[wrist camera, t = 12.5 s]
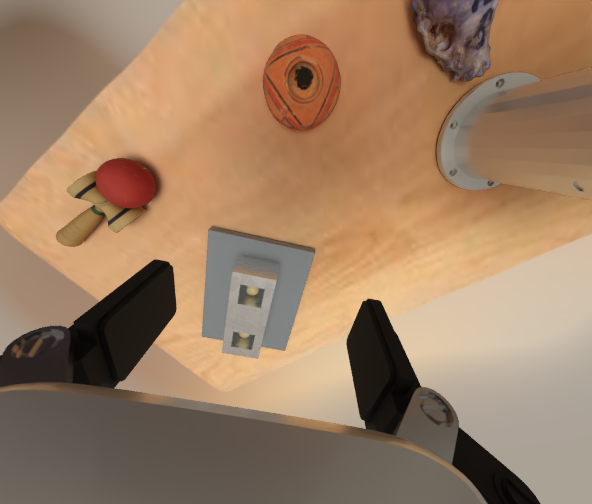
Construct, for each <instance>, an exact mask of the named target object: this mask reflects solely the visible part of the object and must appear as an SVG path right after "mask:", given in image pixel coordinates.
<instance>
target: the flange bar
mask: <svg viewBox="0 0 592 504" xmlns="http://www.w3.org/2000/svg"><path fill="white" fill-rule="evenodd" d="M278 269H279V262H275V261H270V260H265V259H261V258H256V257H251V256H246V255H242V254H241V255H240V257H239V259H238V261H237V263H236V265H235V267H234V269H233V271H232V276H231V284H230V292H229V300H228V308H227V316H226V324H225V332H224V340H223V348H222V353H227V354H233V355H239V356H245V357H251V358H257V359H258V357H259V353H260V348H261V344H262V340H263V336H264V332H265V327H266V323H267V319H268V315H269V311H270V306H271V302H272V298H273V294H274V290H275V285H276V281H277V275H278ZM248 286H251V287H256V288H259V290H258V293H257V294H256V295H249V294H248V293H247V287H248ZM239 333H245V334H250V335H249V337H247V338H243V337H241V336H240V335H239Z"/></svg>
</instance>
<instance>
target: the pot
mask: <svg viewBox="0 0 592 504" xmlns="http://www.w3.org/2000/svg"><path fill="white" fill-rule="evenodd" d="M340 86H341V78H340V73H339V69H338V65H337V62H336V59H335V57H334V56H333V54H332V52H331V51H330V49H329V48H328V47H327V46H326V45H325V44H324V43H322V42H321V41H320V40H318V39H316V38H314V37H312V36H309V35H295V36H291V37H289V38H287V39H285V40H283V41H282V42H280V43H279V44H278V45H277V46H276V48H275V49H274V51H273V52H272V54H271V56H270V57H269V59H268V61H267V63H266V66H265V70H264V75H263V89H264V94H265V99H266V102H267V104H268V107H269V109H270V111H271V112H272V114H273V116H274V117H275V118H276V119H277V120H278V121H279V122H280V123H281V124H283V125H284V126H285V127H287V128H289V129H293V130H308V129H312V128H314V127H316V126H317V125H319V124H320V123H321V122H322V121H324V120H325V119H326V118H327V117H328V116H329V114H330V113H331V112H332V110H333V108H334V107H335V105H336V102H337V100H338V96H339V92H340Z"/></svg>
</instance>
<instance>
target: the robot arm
mask: <svg viewBox="0 0 592 504" xmlns="http://www.w3.org/2000/svg"><path fill="white" fill-rule="evenodd" d="M450 125H451V127H450ZM437 162H438V166H439V169H440V171H441V173H442V175H443V176H444V177H445V179H446V180H447V181H448V182H450V183H451V184H453V185H454V186H457V187H459V188H463V189H467V190H485V189H489V188H493V187H496V186H498V185H500V184H502V183H504V184H509V185H514V186H519V187H525V188H530V189H535V190H540V191H545V192H551V193H556V194H561V195H566V196H572V197H577V198H582V199H587V200H592V67H590V68H586V69H582V70H578V71H575V72H571V73H567V74H563V75H559V76H556V77H552V78H548V79H544V80H541V79H540V78H538V77H536V76H534V75H532V74H530V73H524V72H510V73H506V74H502V75H499V76H496V77H493V78H491V79H488V80H485V81H484V82H482V83H480V84H479V85H477V86H475V87H474V88H473V89H471V90H470V91H469V92H468V93H467V94H465V95H464V96H463V97H462V98H461V99H460V101H459V102H458V103H457V104H456V105H455V106H454V108H453V109H452V110H451V112H450V113H449V115H448V116H447V118H446V120H445V122H444V124H443V126H442V129H441V132H440V135H439V138H438V143H437ZM175 313H176V296H175V285H174V273H173V267H172V266H171V265H170V263H169V262H167V261H161V260H153V261H152V262H150V263H149V264H148V265H146V266H145V267H144V268H143V269H141V270H140V271H139V272H137V273H136V274H135V275H134V276H132V277H131V278H130V279H128V280H127V281H126V282H124V283H123V284H122V285H121V286H119V287H118V288H117V289H115V290H114V291H113V292H112V293H110V294H109V295H108V296H106V297H105V298H104V299H102V300H101V301H100V302H99V303H97V304H96V305H95V306H93V307H92V308H91V309H90V310H88V311H87V312H86V313H84V314H83V315H82V316H80V317H79V318H78V319H77V320H75V321H74V324H73V325H72V326H71V327H70V328H66V327H63V326H48V327H42V328H39V329H36V330H33V331H30V332H28V333H26V334H24V335H22V336H20V337H19V338H17V339H16V340H14V341H13V342H12V343H10V344H9V345H8V346H7V348H6V349H5V351H4V352H3V355H1V356H0V504H540V503H539V501H538V499H537V498H536V496H535V495H534V494H533V492H532V491H531V490H530V489H529V488H528V486H527V485H526V484H525V483H524V482H522V480H520V479H519V478H518V477H517V476H516V475H515V474H514V473H513V472H511V471H510V470H509V469H508V468H507V467H506V466H504V465H503V464H502V463H501V462H500V461H498V460H497V459H496V458H495V457H494V456H493V455H491V454H490V453H489V452H488V451H487V450H485V449H484V448H483V447H482V446H481V445H479V444H478V443H477V442H476V441H475V440H474V439H472V438H471V437H470V436H469V435H468V434H467V433H465V432H464V431H463V430H462V429H461V428H459V421H458V417H457V415H456V412H455V411H454V409H453V407H452V406H451V405H450V403H449V402H448V401H447V400H446V399H445V398H444V397H443V396H441V395H440V394H439V393H437V392H436V391H434V390H432V389H429V388H426V387H421V386H420V383H419V381H418V379H417V377H416V375H415V373H414V370H413V368H412V366H411V364H410V362H409V359H408V357H407V355H406V353H405V351H404V349H403V346H402V344H401V342H400V340H399V338H398V335H397V334H396V332H395V331H394V329H393V327H392V325H391V323H390V320H389V318H388V316H387V314H386V312H385V309H384V307H383V305H382V303H381V301H379V300H373V299H367V300H366V301H363V302H362V305H361V307H360V309H359V312H358V314H357V316H356V319H355V321H354V324H353V326H352V328H351V331H350V333H349V335H348V339H347V350H348V354H349V360H350V366H351V370H352V376H353V382H354V387H355V392H356V397H357V403H358V408H359V413H360V417H361V419H362V420H364V421H365V426H366V429H363V428H357V427H352V426H347V425H341V424H336V423H330V422H324V421H318V420H312V419H305V418H300V417H294V416H287V415H281V414H276V413H269V412H262V411H257V410H251V409H244V408H238V407H232V406H225V405H219V404H213V403H206V402H200V401H193V400H187V399H180V398H174V397H167V396H161V395H155V394H148V393H142V392H135V391H128V390H121V389H114V387H116V385H117V384H118V383H119V381H123V380H125V379H126V377H127V376H128V375H129V373H130V372H131V371H132V370H133V368H134V367H135V366H136V365H137V363H138V362H139V361H140V359H141V358H142V357H143V355H144V354H145V352H146V351H147V350H148V349H149V347H150V346H151V345H152V344H153V342H154V341H155V340H156V338H157V337H158V336H159V334H160V333H161V332H162V331H163V329H164V328H165V327H166V325H167V324H168V323H169V321H170V320H171V319H172V318H173V316H174V315H175Z"/></svg>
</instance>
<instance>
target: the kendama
mask: <svg viewBox="0 0 592 504" xmlns="http://www.w3.org/2000/svg"><path fill="white" fill-rule="evenodd" d="M155 191H156V185H155V181H154V178H153V176H152V175H151V173H150V172H149V171H148V169H147V168H145V167H144V166H142V165H141V164H139V163H137V162H135V161H132V160H129V159H124V158H117V159H112V160H109V161H107V162H105V163H103V164H102V165H101V166H100V167H99V168H98V170H97V171H93V172H91V173H89V174H86V175H85V176H83V177H81V178H80V179H78V180H77V181H75V182H74V183H73V184H72V185H70V186H69V187H68V189H67V192H68V193H69V194H70V195H71V196H72V197H74V198H78V199H83V200H87V201H90V202H92V203H94V205H93V206H92V207H91V208H89V209H87V210H86V211H84V212H83V213H81V214H80V215H79V216H77V217H76V218H75V219H74V220H72V221H71V222H70V223H69V224H67V225H66V226H65V227H63V228H62V229H61V230H59V231H58V232H57V234H56V239H57V240H58V242H60V243H61V244H63V245H65V246H70V247H75V246H78V245H80V244H82V242H83V241H84V240H85V239H86V237H87V236H88V235H89V234H90V233H91V232H92V231H93V229H94V228H95V227H96V226H97V225H98V224H99V222H100V221H101V219H102V218H103V216H104V215H106V217H107V219H108V227H109V228H110V229H111V230H113V231H114V232H116V233H117V232H119V231H120V230H122V229H123V228H124V227H125V226H127V225H128V224H129V223H131V222H132V221H133V220H135V219H136V218H137V217H138V216H140V215H141V214H142V213H144V212H145V209H144V208H143V207H142V206H144V205H146V204H147V203H149V202H150V201H151V200H152V198H153V197H154V194H155Z"/></svg>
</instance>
